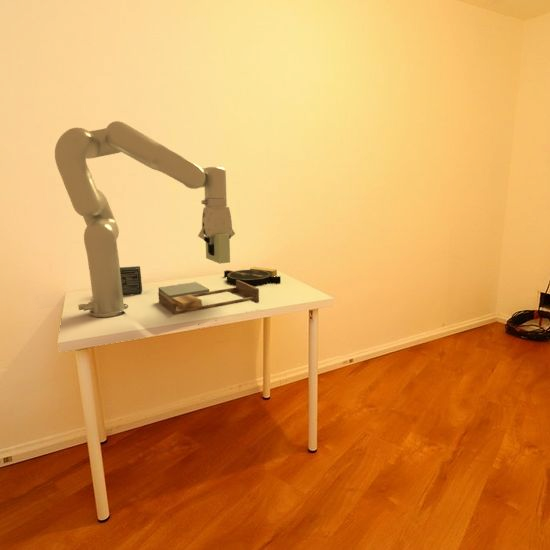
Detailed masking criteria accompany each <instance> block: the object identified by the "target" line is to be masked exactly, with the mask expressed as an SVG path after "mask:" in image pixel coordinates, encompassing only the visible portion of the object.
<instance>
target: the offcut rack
mask: <svg viewBox="0 0 550 550" xmlns="http://www.w3.org/2000/svg"><path fill="white" fill-rule="evenodd" d="M259 289H260V288H258V287H257V286H251V285H249V284H247V283H245V282H242V281H240V280H236V285H235V287H229V288H223V289H218V290H217V289H216V290H211V291H209V292H205V293H199V294H193V295H192V296H194V297H196V298H198V297H203V296H208V295H214V294H215V295H216V294H219V293H225V292H227V293H229V294H235V293H237V292H238V294H239V293H240V294H239V295H241V294H242V296H244V297H243V298H238V299H234V300H228V301H222V302H217V303H212V304H207V305H202V306H200V307H195V308H189V309H184V310H180V309H179V310H177V307H176V303H175V302H174V301H173V300H172V298H169V297H167V296H166V295H165V294H163V293H162V292H159V291H158V293H157V294H158V302H159V304H160V305H162V306H163V307H164V308H165V309H166V310H167V311H169V313H172V315H173V316H174V315H179V314H185V313H191V312H196V311H200V310H206V309H212V308H216V307H222V306H226V305H233V304H237V303H242V302H247V301H250V302H253V303H257V302H258V303H259V302H260V290H259Z"/></svg>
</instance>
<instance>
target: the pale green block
mask: <svg viewBox="0 0 550 550" xmlns="http://www.w3.org/2000/svg"><path fill="white" fill-rule="evenodd" d="M204 236H205V237H207V235H204ZM230 240H231V238H229V234H226V233H225V234H215V236H213V244H214V255H213V256H212V255H210V254H209V253H208V244H207V243H206V242H205V258H206V259H208V260H210V261H212V262H214V263H217V264H220V265H221V264H228V263H231V248H230V247H231V245H230Z"/></svg>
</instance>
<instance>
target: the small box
mask: <svg viewBox="0 0 550 550" xmlns="http://www.w3.org/2000/svg"><path fill="white" fill-rule="evenodd" d="M120 274H121V284H122V293H123V296H128V295H129V296H132V295H131V294H133V295H141V294H142V292H143V283H142V273H141V266H139V265H137V266H124V267H121V266H120Z"/></svg>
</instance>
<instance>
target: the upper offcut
mask: <svg viewBox="0 0 550 550" xmlns="http://www.w3.org/2000/svg"><path fill="white" fill-rule="evenodd" d="M172 300H173V301H174V302H175V303H176V306H178V307H180V308H182V309H187V308H192V307H196V306H201V305H202V299H200V298H198V297H194V296H192V295H190V294H189V295H184V296H179V297H174V298H172ZM202 306H203V305H202Z"/></svg>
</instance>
